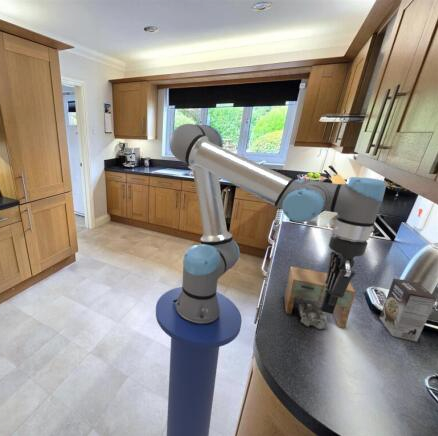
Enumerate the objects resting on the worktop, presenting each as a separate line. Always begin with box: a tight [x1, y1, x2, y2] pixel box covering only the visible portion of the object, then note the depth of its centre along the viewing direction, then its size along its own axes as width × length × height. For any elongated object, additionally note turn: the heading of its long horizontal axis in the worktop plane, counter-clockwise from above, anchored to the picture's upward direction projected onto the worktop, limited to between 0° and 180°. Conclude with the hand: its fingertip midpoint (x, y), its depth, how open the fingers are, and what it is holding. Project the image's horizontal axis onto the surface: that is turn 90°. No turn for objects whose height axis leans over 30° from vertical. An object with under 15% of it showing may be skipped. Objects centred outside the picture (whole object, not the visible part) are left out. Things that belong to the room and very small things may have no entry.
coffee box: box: [379, 278, 437, 343], centre depth 77 cm, size 9×6×16 cm
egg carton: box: [298, 298, 329, 330], centre depth 84 cm, size 11×8×4 cm
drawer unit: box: [283, 266, 356, 329], centre depth 85 cm, size 17×10×14 cm, turn 65°
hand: (326, 311), depth 71 cm, fingers closed
